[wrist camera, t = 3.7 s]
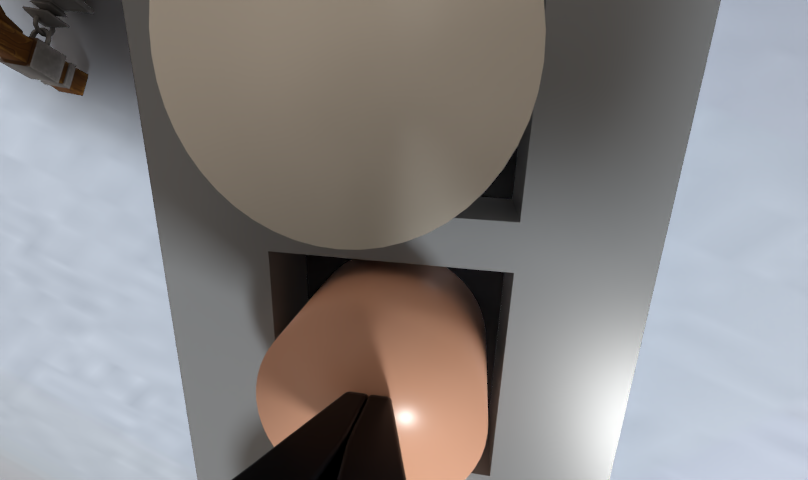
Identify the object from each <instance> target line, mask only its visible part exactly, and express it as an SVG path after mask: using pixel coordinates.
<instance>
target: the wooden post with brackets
mask: <svg viewBox="0 0 808 480" xmlns="http://www.w3.org/2000/svg"><path fill="white" fill-rule="evenodd" d="M30 2H32V3H33V4H34V5H36V6H37V7H38V8H39V9H36V8H30V7H24V6H23V7H22V8H23V9H24V10H25V11H26V12H28V13H29V14H30V15H31V16H32V17H33V25H34V27H35V30H33V31H32V32H31V34H30V36H29V37H27V36H25V35H24V34H23V31H22V30H21V29H20V28H19V27H18V26H17V25H16V24H15V23H14V22H13V21H12V20H10V19H9V18H8V17H7V16H6V14H5V13H4V11H3V9H2V7H1V6H0V62H1V63H3V64H5V65H7V66H8V67H10V68H12V69H14V70H16V71H18V72H19V73H21V74H23V75H25V76H27V77H29V78H31V79H36V80H41V82H43V83H44V84H47V85H51V86H52V87H54V88H55V89H57V90H58V91H61V92H66V93H71V94H76V95H82V96H83V93H84V89H85V86H86V82H87V79H88V74H86V73H84V72H83V71H81V70H79V69H77V68H76V66H75V65H73V64H72V63H67V62H66V61H65V60H66V56H64V55H63V54H61V53H60V52H58V51H57V50H55V49H54V48H52V47H51V46H50V42H51V36H52V35H53V34H54V32H55V27H68V28H69V25H67V24H66V23H65V22H63V21H62V20H60V19H59V18H58V17H56V16H62V17H67V16H66V14H65V13H64V12H67V11H73V12H83V13H89V14H93V13H94V10H93V9H92V8H91V7H89V6H88V5H87V4H85V3H84V0H31V1H30ZM38 22H39V23H41V24H42V25H44V26H47V27H50V31H48V30H47V29H45V28H39V25H38ZM38 33H39V34H40V35H41V36H44V37H46V40H45V42H43V41H41V40H40V39H38V38H35V37H36V35H37V34H38Z"/></svg>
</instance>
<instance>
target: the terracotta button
mask: <svg viewBox="0 0 808 480" xmlns="http://www.w3.org/2000/svg"><path fill="white" fill-rule="evenodd" d="M346 392H358V393H365V394H367V395H368V397H369V396H370V395H379V396H387V397H390V398H391V400H392V405H393V410H394V416H395V421H396V427H397V432H398V437H399V443H400V448H401V453H402V459H403V464H404V470H405V475H406V480H465V479H466V478H467V477H468V476H469V475H470V473H471V472H472V471H473V470H474V468H475V467H476V465H477V463H478V462H479V460H480V458H481V456H482V453H483V450H484V448H485V444H486V439H487V434H488V398H487V360H486V330H485V322H484V319H483V315H482V312H481V309H480V307H479V305H478V302H477V300H476V299H475V297H474V296H473V294H472V292H471V291H470V290H469V288H468V287H467V286H466V285H465V283H464V282H463V281H462V280H461V279H460V278H459V277H458V276H456V275H455V274H454V273H453V272H452V271H450V270H449V269H447V268H446V267H441V266H430V265H418V264H407V263H396V262H385V261H373V260H362V259H352V260H350V261H348V262H346V263H345V264H343V265H342V266H341V267H339V268H338V269H337V270H335V271H334V272H333V273H332V275H331V276H330V277H329V278H328V279H327V280H326V281H325V282H324V283H323V285H322V286H321V287H320V288H319V289H318V291H317V292H316V293H315V294H314V295H313V296H312V298H311V299H310V300H309V301H308V302H307V303H306V305H305V306H304V307H303V308H302V309H301V311H300V312H299V313H298V314H297V315H296V316H295V318H294V319H293V320H292V321H291V322H290V323H289V325H288V326H287V327H286V328H285V329H284V331H283V332H282V333H281V334H280V335H279V336H278V338H277V339H276V340H275V341H274V342H273V344H272V345H271V347H270V348H269V349H268V351H267V352H266V354H265V356H264V358H263V360H262V363H261V365H260V369H259V372H258V376H257V383H256V402H257V408H258V413H259V416H260V419H261V423H262V425H263V428H264V430H265V432H266V434H267V436H268V438H269V440H270V441H271V443H272V445H273V446H274V447H275V446H276V445H277V444H279V443H280V442H281V441H283V440H284V439H285V438H286V437H288V436H289V435H290V434H292V433H293V432H294V431H296V430H297V429H298V428H300V427H301V426H302V425H304V424H305V423H306V422H307V421H309V420H310V419H311V418H313V417H314V416H315V415H317V414H318V413H319V412H321V411H322V410H323V409H324V408H326V407H327V406H328V405H330V404H331V403H332V402H334V401H335V400H336V399H338V398H339V397H340V396H341V395H343V394H344V393H346Z"/></svg>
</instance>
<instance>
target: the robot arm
mask: <svg viewBox="0 0 808 480" xmlns="http://www.w3.org/2000/svg"><path fill="white" fill-rule="evenodd" d="M232 480H406V475H405V470H404V464H403V459H402V453H401V448H400V443H399V437H398V432H397V427H396V421H395V416H394V410H393V405H392V400H391V398H390V397H387V396H379V395H370V396H369V397H368V395H367V394H365V393H358V392H346V393H344V394H343V395H341V396H340V397H339V398H338V399H336V400H335V401H334V402H332V403H331V404H330V405H328V406H327V407H326V408H324V409H323V410H322V411H321V412H319V413H318V414H317V415H315V416H314V417H313V418H311V419H310V420H309V421H307V422H306V423H305V424H304V425H302V426H301V427H300V428H298V429H297V430H296V431H294V432H293V433H292V434H290V435H289V436H288V437H286V438H285V439H284V440H283V441H281V442H280V443H279V444H277V445H276V446H275V447H273V448H272V449H271V450H269V451H268V452H267V453H266V454H264V455H263V456H262V457H260V458H259V459H258V460H256V461H255V462H254V463H252V464H251V465H250V466H249V467H247V468H246V469H245V470H243V471H242V472H241V473H239V474H238V475H237V476H235V477H234V478H233V479H232Z"/></svg>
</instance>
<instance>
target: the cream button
mask: <svg viewBox="0 0 808 480" xmlns="http://www.w3.org/2000/svg"><path fill="white" fill-rule="evenodd" d="M149 33H150V44H151V55H152V60H153V65H154V70H155V75H156V80H157V84H158V87H159V90H160V94H161V97H162V100H163V103H164V107H165V109H166V111H167V114H168V116H169V118H170V121H171V123H172V125H173V128H174V130H175V132H176V134H177V135H178V137H179V139H180V141H181V143H182V144H183V146H184V148H185V150H186V151H187V153H188V154H189V156H190V157H191V159H192V160H193V162H194V163H195V164H196V166H197V167H198V169H199V170H200V171H201V173H202V174H203V175H204V176H205V177H206V178H207V180H208V181H209V182H210V183H211V184H212V185H213V186H214V188H215V189H216V190H217V191H218V192H219V193H220V194H221V195H223V196H224V197H225V198H226V199H227V200H228V201H229V202H230V203H231V204H232V205H234V206H235V207H236V208H237V209H239V210H240V211H242V212H243V213H244V214H246V215H247V216H248V217H250V218H251V219H253V220H254V221H256V222H258V223H259V224H261V225H263V226H265V227H267V228H268V229H270V230H272V231H274V232H276V233H279V234H281V235H283V236H286V237H288V238H291V239H293V240H296V241H300V242H303V243H307V244H310V245H314V246H319V247H326V248H332V249H344V250H364V249H373V248H382V247H387V246H391V245H395V244H399V243H403V242H406V241H409V240H412V239H414V238H417V237H419V236H422V235H425V234H427V233H429V232H431V231H433V230H434V229H436V228H438V227H440V226H442V225H443V224H445V223H447V222H449V221H450V220H451V219H453V218H454V217H456V216H457V215H458V214H460V213H461V212H462V211H464V210H465V209H467V208H468V207H469V206H470V205H471V204H472V203H473V202H474V201H475V200H476V199H477V198H478V197H479V196H480V195H482V194H483V193H484V192H485V191H486V190H487V189H488V187H489V186H490V185H491V184H492V182H493V181H494V180H495V179H496V177H497V176H498V175H499V174H500V173H501V171H502V170H503V169H504V167H505V165H506V164H507V162H508V161H509V159H510V157H511V156H512V154H513V153H514V151H515V149H516V148H517V146H518V144H519V142H520V140H521V137H522V135H523V133H524V131H525V129H526V127H527V124H528V122H529V120H530V117H531V114H532V111H533V107H534V104H535V101H536V98H537V95H538V92H539V86H540V81H541V75H542V70H543V65H544V54H545V37H546V24H545V9H544V0H149Z"/></svg>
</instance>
